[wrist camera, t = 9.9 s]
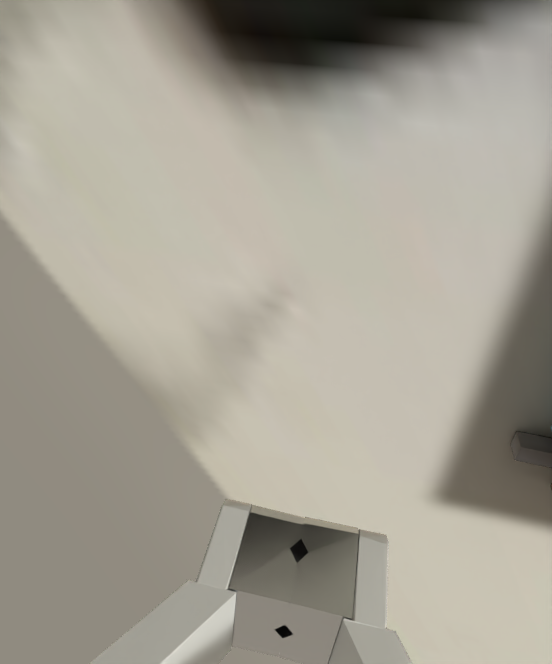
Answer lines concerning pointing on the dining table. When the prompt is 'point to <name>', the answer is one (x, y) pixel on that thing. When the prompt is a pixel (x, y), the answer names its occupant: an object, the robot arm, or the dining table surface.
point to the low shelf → (532, 449)
